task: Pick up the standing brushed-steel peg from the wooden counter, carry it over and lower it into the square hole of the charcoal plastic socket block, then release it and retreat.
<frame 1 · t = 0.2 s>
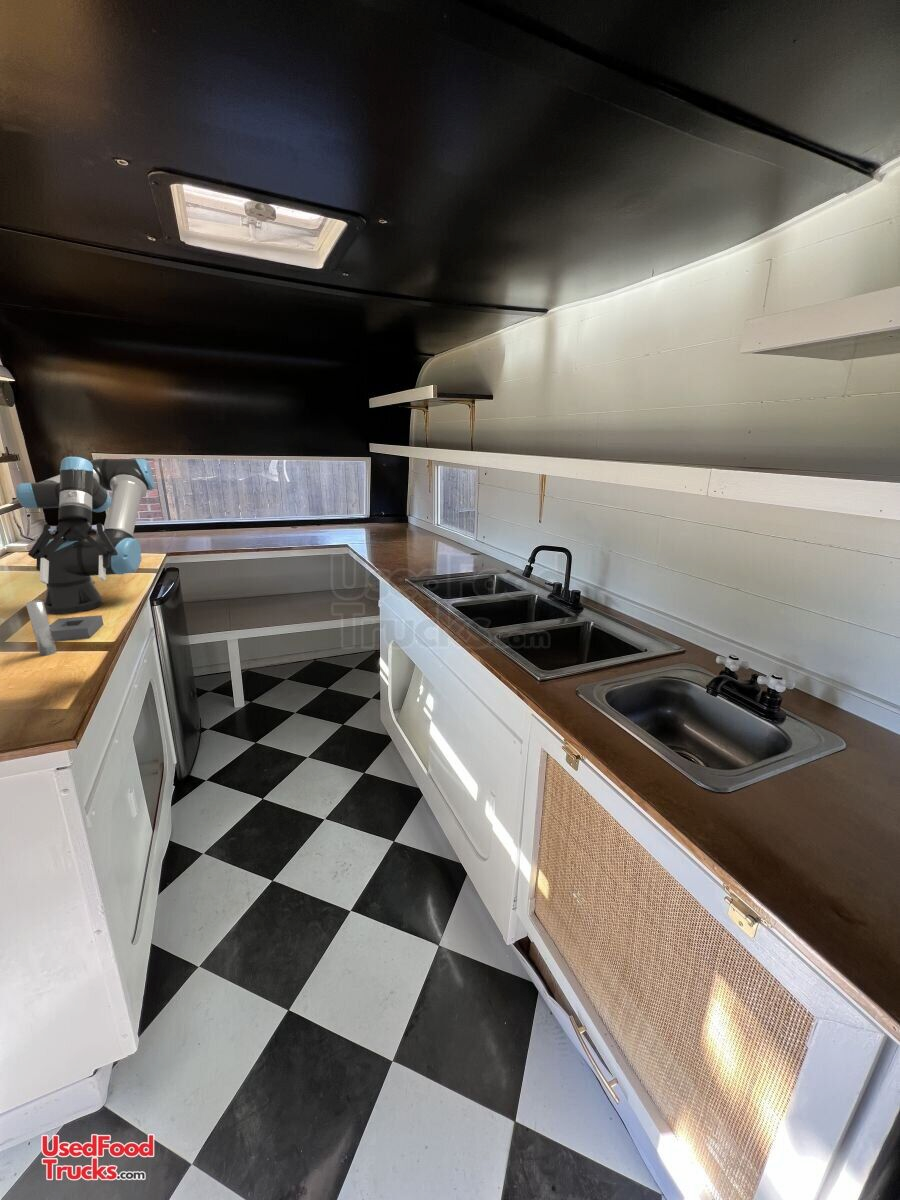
hand: (73, 580, 133), 16 cm above the countertop, tool tilted 35°, fingers open, 13 cm apart
steel peg: (48, 652, 127), on the countertop
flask: (83, 585, 186), on the countertop
socket block: (74, 632, 140), on the countertop
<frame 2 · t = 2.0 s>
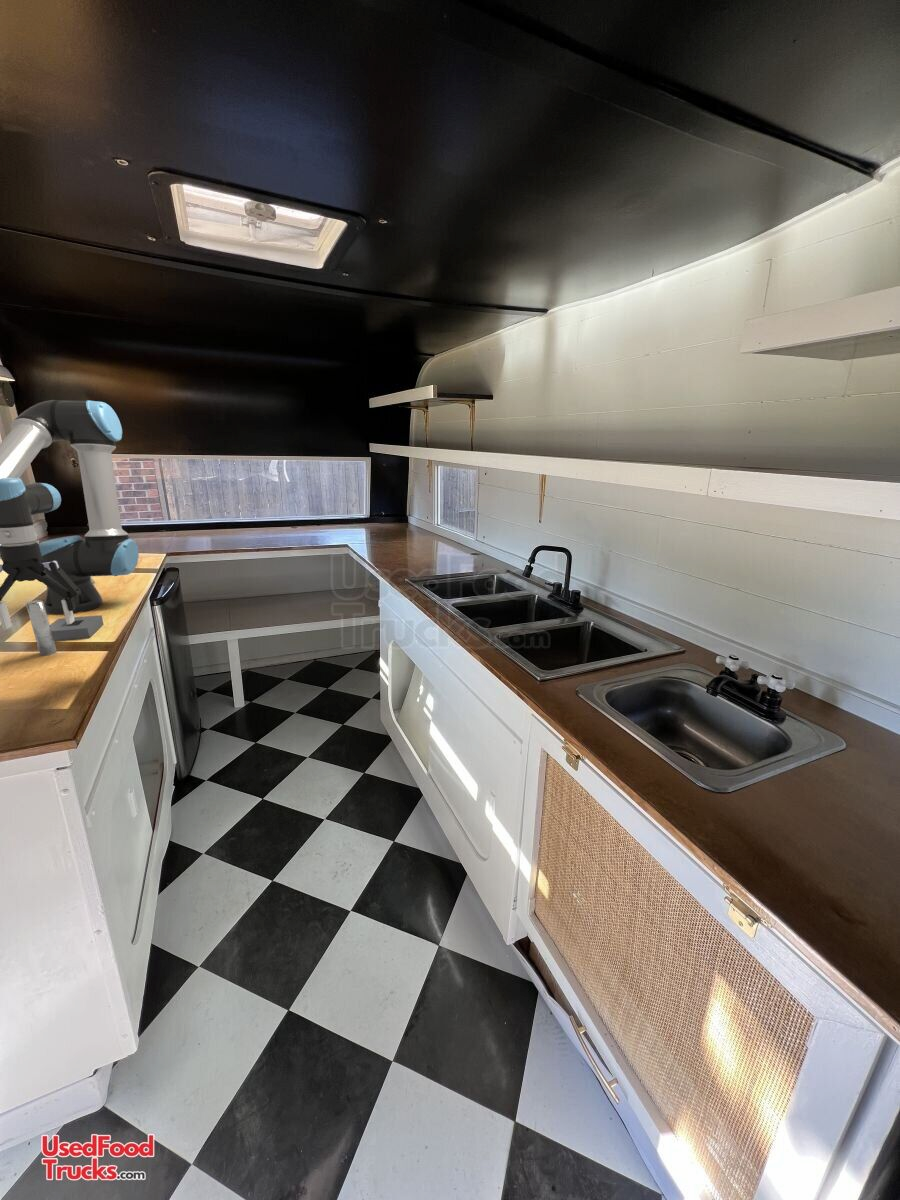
hand: (39, 625, 124), 8 cm above the countertop, tool pointing down, fingers open, 13 cm apart
nothing on the countertop moved.
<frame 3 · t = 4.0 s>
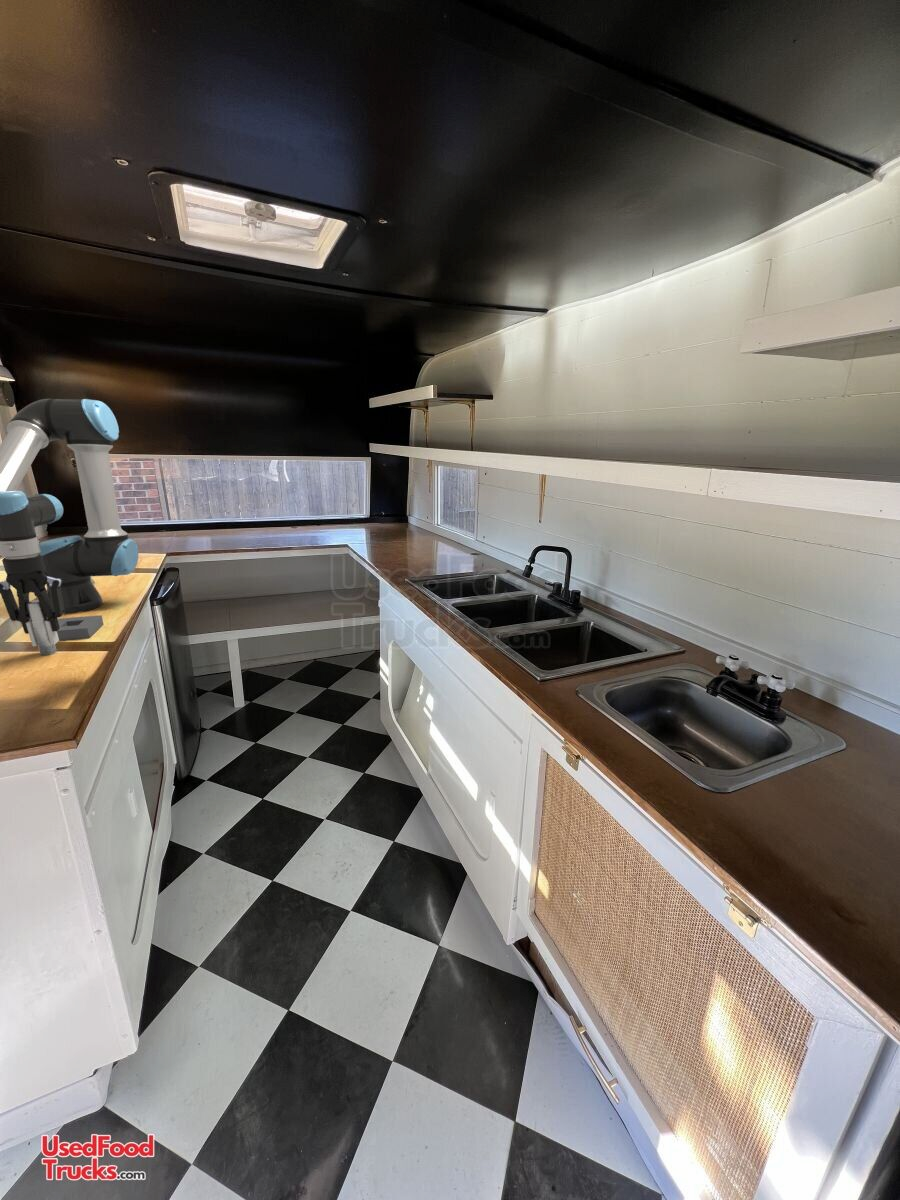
hand: (46, 643, 126), 3 cm above the countertop, tool pointing down, fingers closed on steel peg, 3 cm apart
steel peg: (48, 652, 127), on the countertop, touching gripper
everything else where it was.
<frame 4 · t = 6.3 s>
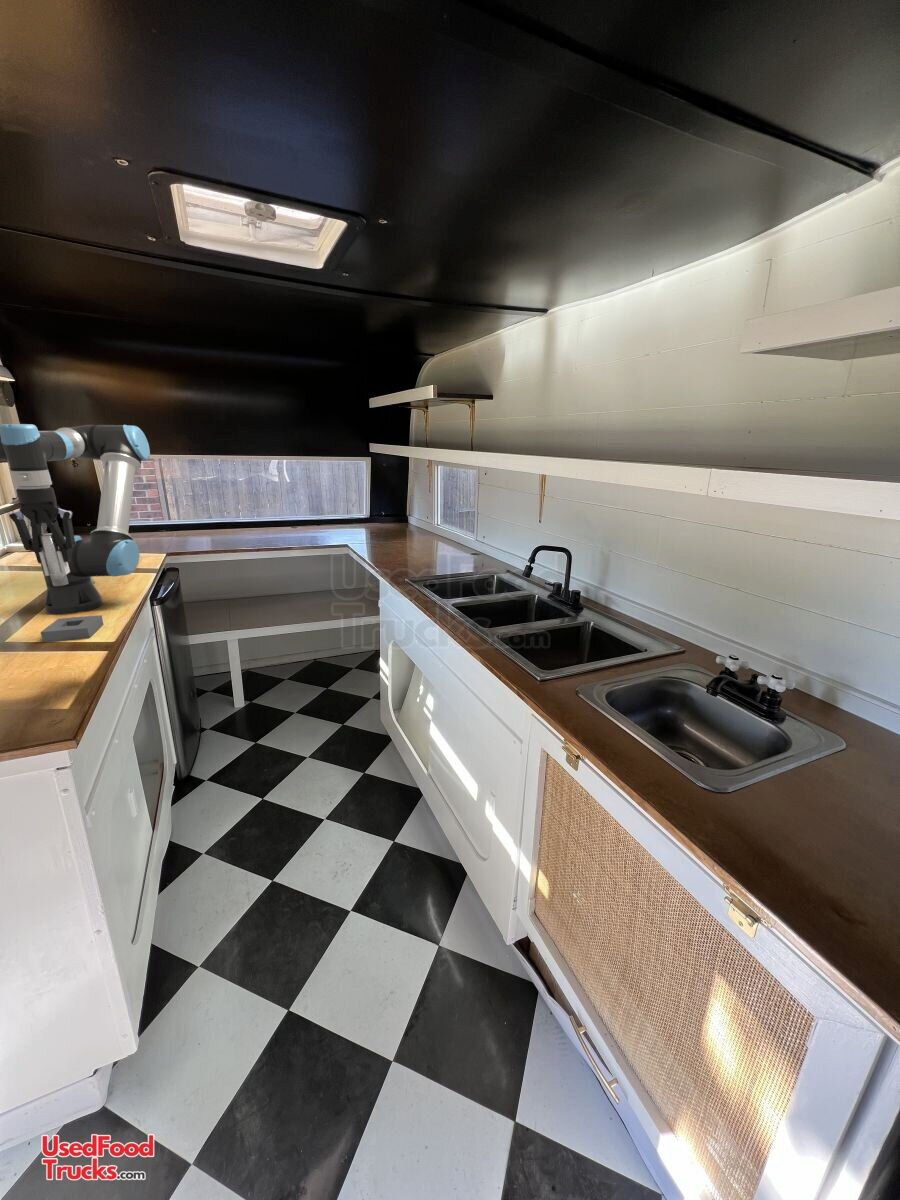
hand: (57, 573, 133), 18 cm above the countertop, tool pointing down, fingers closed on steel peg, 3 cm apart
steel peg: (60, 584, 134), point 15 cm above the countertop, touching gripper
everything else where it was.
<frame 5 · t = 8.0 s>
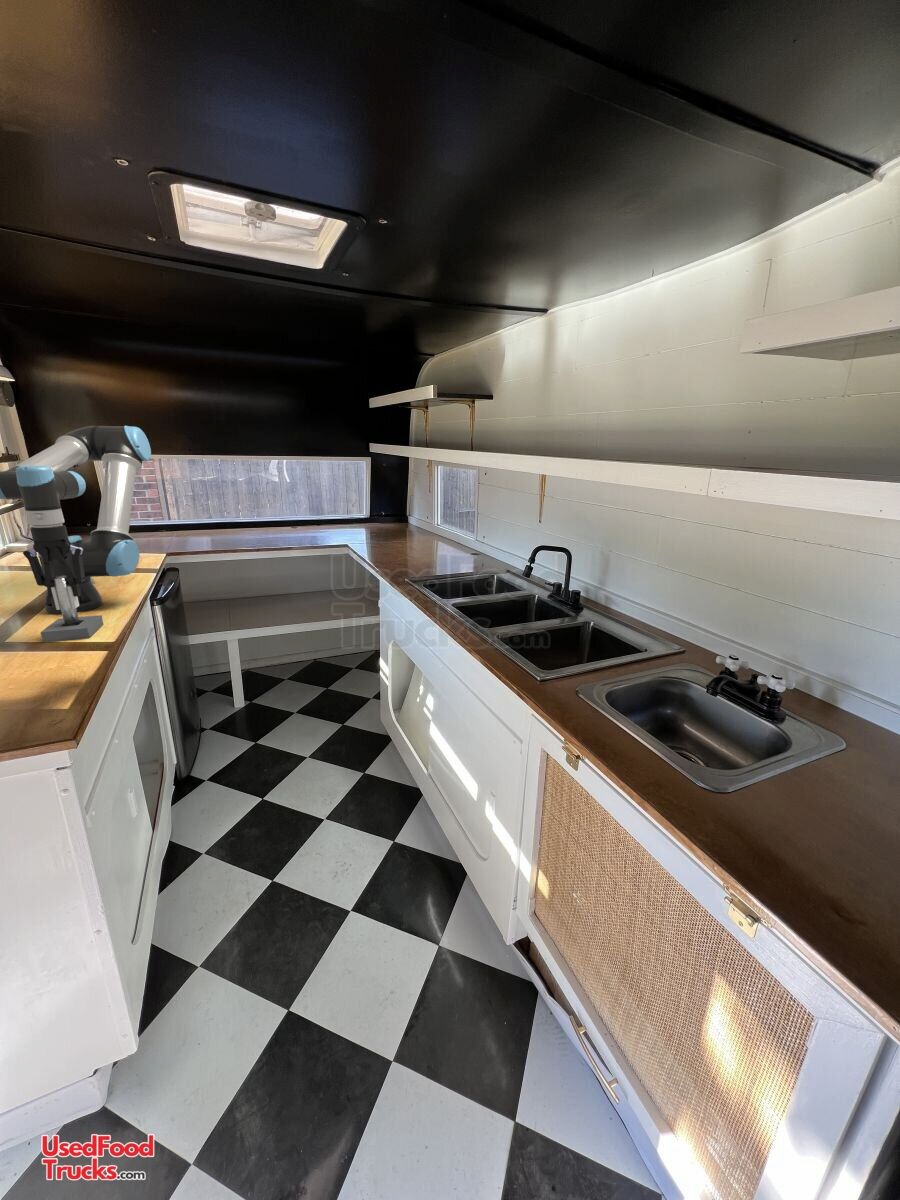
hand: (68, 607, 137), 8 cm above the countertop, tool pointing down, fingers closed on steel peg, 3 cm apart
steel peg: (72, 624, 139), point 3 cm above the countertop, touching gripper
everything else where it was.
when the fingers open (4 cm above the countertop, at t = 8.9 s): steel peg stays where it is, resting in socket block.
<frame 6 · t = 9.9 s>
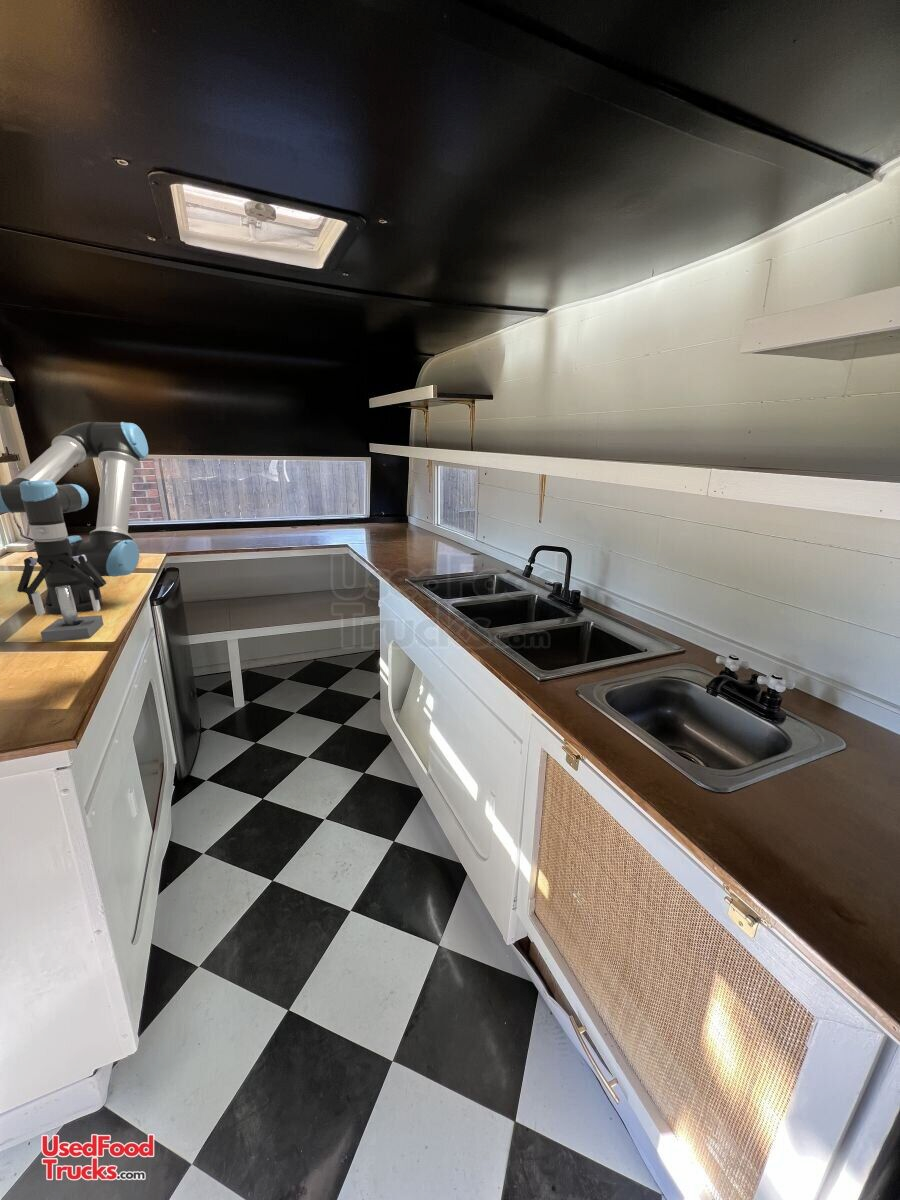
hand: (69, 612, 138), 6 cm above the countertop, tool pointing down, fingers open, 13 cm apart
steel peg: (74, 633, 140), resting in socket block
everything else where it was.
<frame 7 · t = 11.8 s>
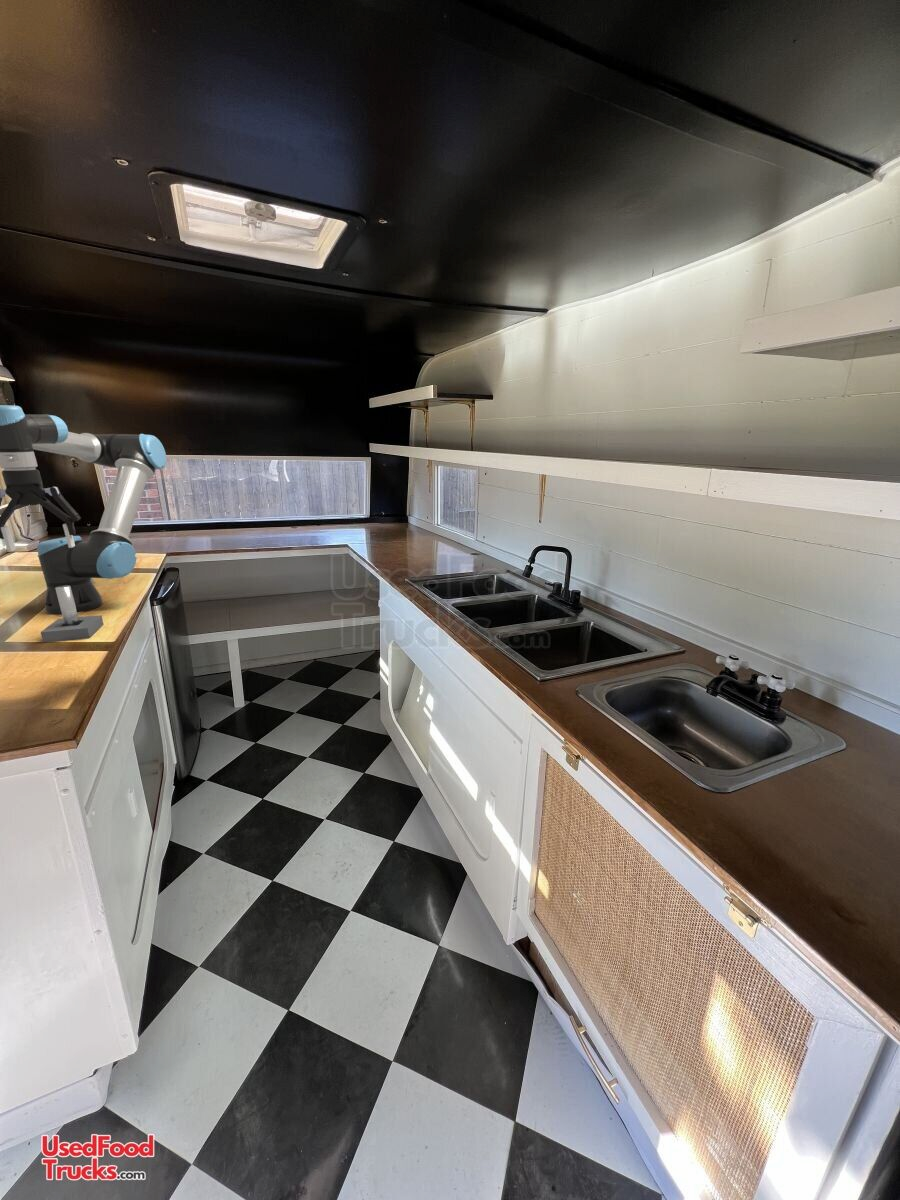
hand: (42, 548, 133), 25 cm above the countertop, tool pointing down, fingers open, 13 cm apart
nothing on the countertop moved.
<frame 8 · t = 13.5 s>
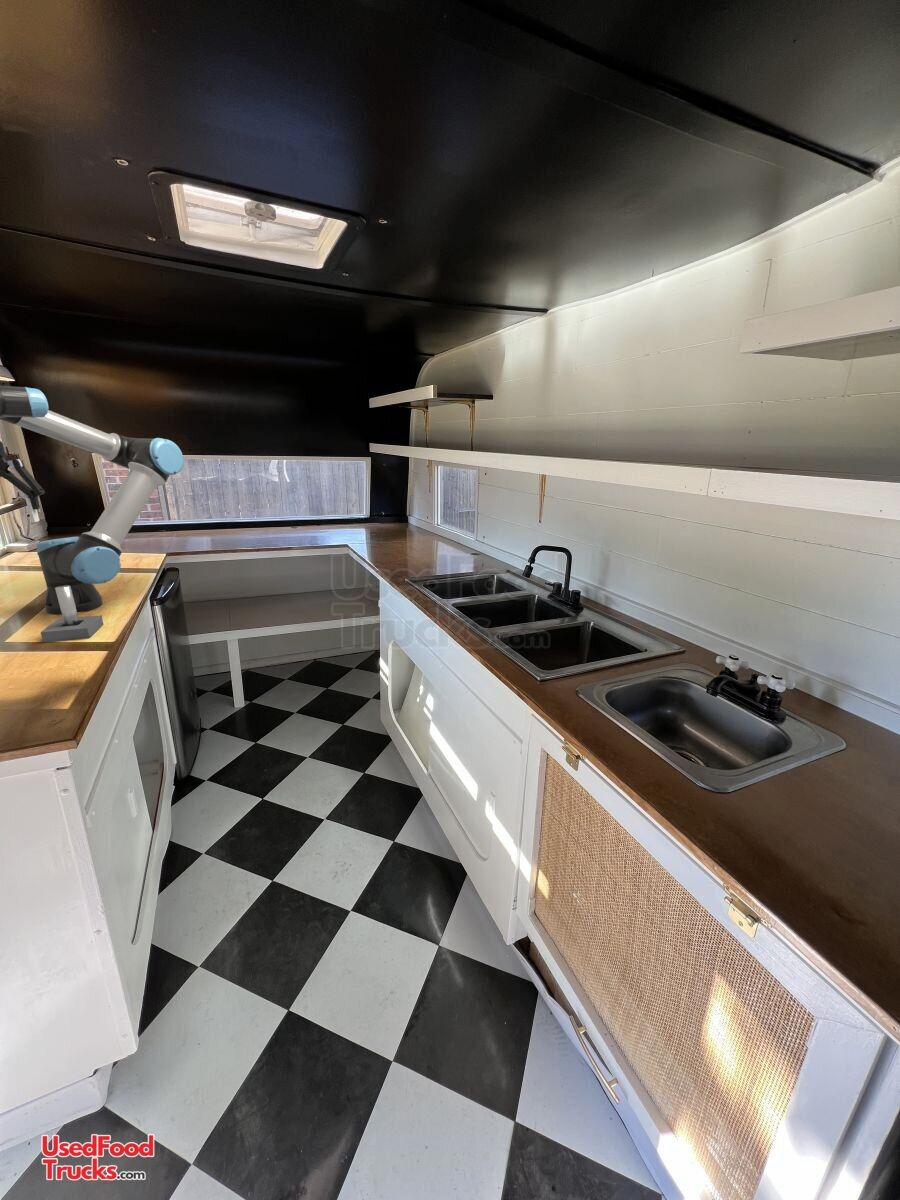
hand: (5, 522, 130), 32 cm above the countertop, tool pointing down, fingers open, 13 cm apart
nothing on the countertop moved.
at the end: steel peg 0.2 cm off-centre on the socket block, point 0.0 cm above the socket block's base; steel peg tilted 0°; the gripper is holding nothing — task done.
